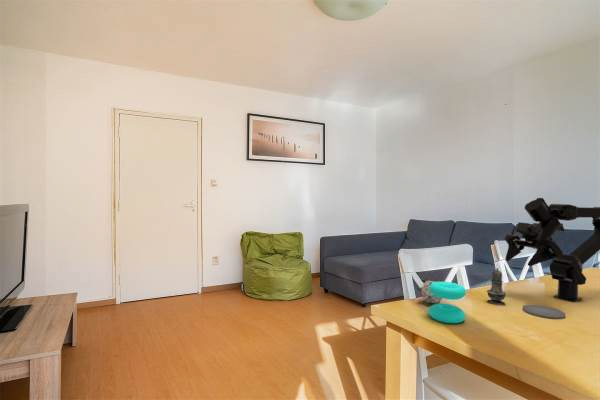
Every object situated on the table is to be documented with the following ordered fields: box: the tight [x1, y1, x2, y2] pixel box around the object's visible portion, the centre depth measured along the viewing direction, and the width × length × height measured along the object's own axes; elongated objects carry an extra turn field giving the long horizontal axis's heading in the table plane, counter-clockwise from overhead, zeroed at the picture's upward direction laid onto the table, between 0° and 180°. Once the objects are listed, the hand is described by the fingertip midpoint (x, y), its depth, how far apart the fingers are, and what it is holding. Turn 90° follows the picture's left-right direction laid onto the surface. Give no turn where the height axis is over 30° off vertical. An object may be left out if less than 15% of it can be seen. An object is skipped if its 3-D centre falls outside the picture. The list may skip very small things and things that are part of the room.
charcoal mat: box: [522, 304, 566, 320], centre depth 108 cm, size 11×11×1 cm
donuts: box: [428, 281, 467, 324], centre depth 101 cm, size 10×10×10 cm
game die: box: [417, 278, 443, 304], centre depth 114 cm, size 9×8×10 cm
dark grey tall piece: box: [486, 267, 507, 306], centre depth 117 cm, size 6×6×12 cm
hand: (517, 262), depth 119 cm, fingers open, 9 cm apart
